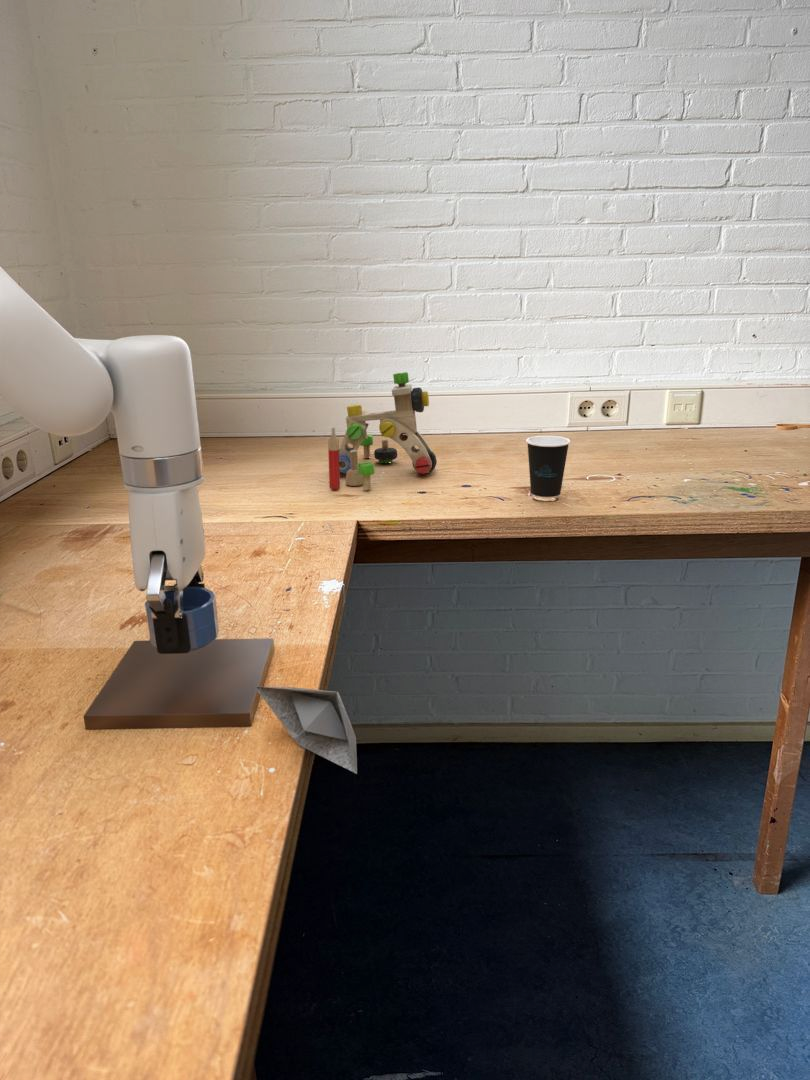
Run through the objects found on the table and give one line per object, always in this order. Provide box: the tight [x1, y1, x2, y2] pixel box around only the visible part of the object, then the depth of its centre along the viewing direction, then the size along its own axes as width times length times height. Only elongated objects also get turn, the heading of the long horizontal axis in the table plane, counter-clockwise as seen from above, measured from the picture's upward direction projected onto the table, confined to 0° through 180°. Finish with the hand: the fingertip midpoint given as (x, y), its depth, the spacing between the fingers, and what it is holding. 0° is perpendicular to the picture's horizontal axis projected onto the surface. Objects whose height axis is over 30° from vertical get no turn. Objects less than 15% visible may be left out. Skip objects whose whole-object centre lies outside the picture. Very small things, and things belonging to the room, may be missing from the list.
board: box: [83, 637, 275, 730], centre depth 84 cm, size 16×16×2 cm
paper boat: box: [254, 686, 358, 775], centre depth 72 cm, size 12×6×9 cm
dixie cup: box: [525, 435, 571, 499], centre depth 146 cm, size 8×8×11 cm
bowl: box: [144, 587, 220, 652], centre depth 82 cm, size 7×7×5 cm
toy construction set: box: [327, 371, 438, 491], centre depth 161 cm, size 27×22×21 cm
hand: (184, 633), depth 83 cm, fingers closed on bowl, 7 cm apart
